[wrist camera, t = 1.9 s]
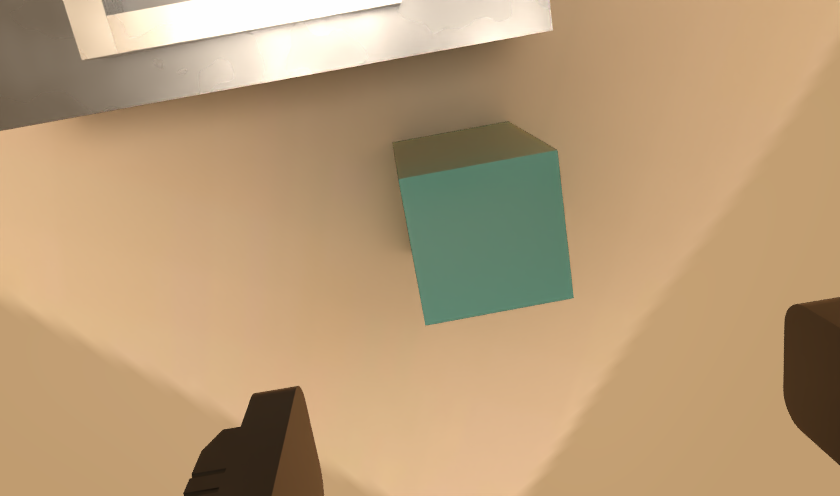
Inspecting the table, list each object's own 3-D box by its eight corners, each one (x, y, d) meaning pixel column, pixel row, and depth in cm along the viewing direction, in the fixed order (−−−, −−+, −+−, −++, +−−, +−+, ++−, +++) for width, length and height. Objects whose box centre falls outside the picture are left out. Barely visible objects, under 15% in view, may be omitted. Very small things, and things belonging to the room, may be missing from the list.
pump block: (508, 121, 28) (557, 150, 20) (522, 232, 30) (573, 298, 22) (392, 142, 28) (398, 179, 20) (413, 252, 30) (425, 325, 22)
